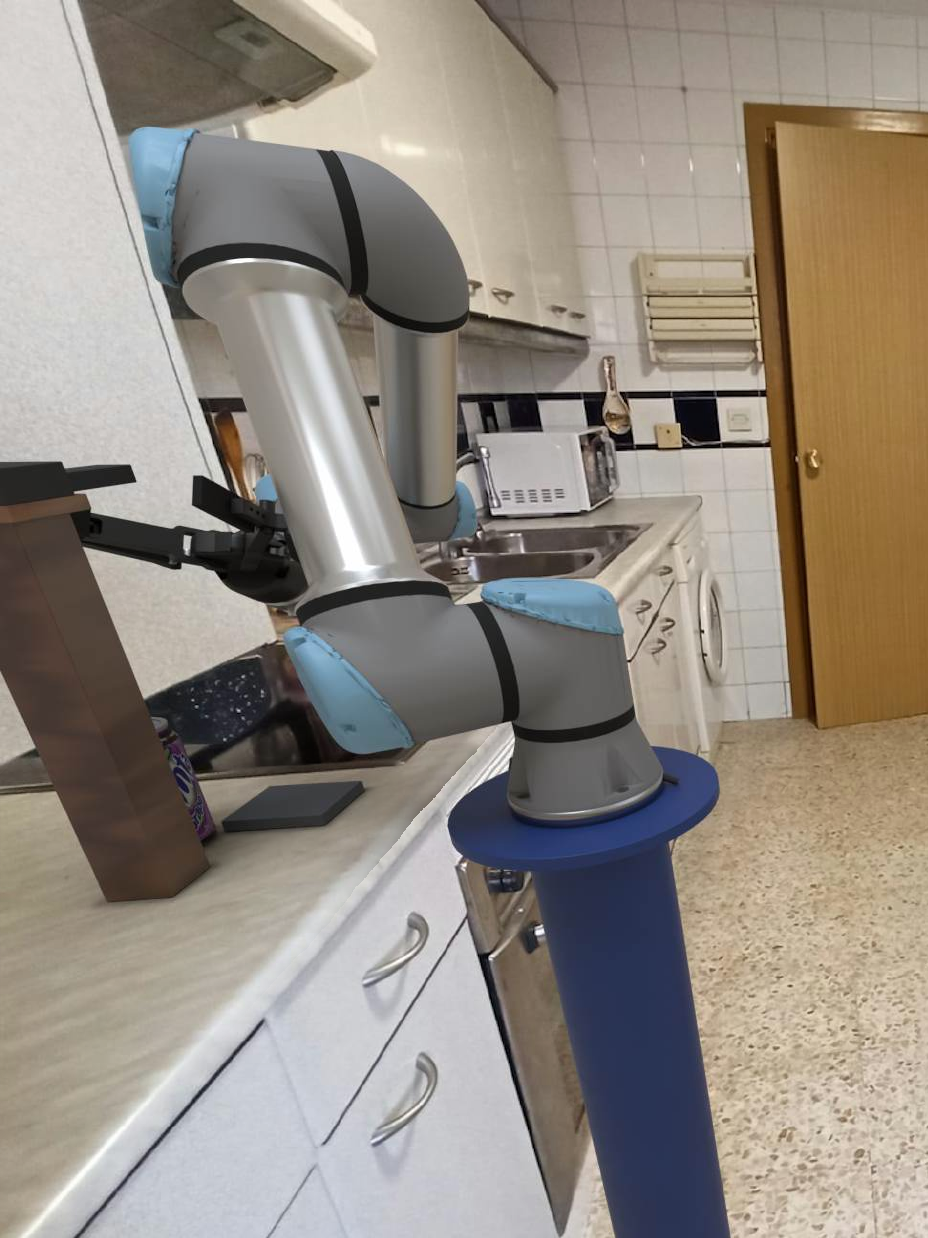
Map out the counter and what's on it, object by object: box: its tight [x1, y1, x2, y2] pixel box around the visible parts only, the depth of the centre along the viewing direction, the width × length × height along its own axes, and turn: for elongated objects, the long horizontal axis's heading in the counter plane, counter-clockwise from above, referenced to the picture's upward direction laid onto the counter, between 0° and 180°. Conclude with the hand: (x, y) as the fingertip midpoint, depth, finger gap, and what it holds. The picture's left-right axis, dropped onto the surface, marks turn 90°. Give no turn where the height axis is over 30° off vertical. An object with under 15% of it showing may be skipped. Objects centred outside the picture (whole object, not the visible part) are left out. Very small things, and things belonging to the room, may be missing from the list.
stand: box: [0, 493, 212, 903], centre depth 69 cm, size 6×7×33 cm
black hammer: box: [0, 460, 138, 506], centre depth 66 cm, size 6×15×2 cm, turn 9°
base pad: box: [220, 780, 365, 833], centre depth 88 cm, size 9×8×1 cm
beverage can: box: [151, 716, 216, 842], centre depth 79 cm, size 7×7×12 cm
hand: (107, 491), depth 72 cm, fingers open, 13 cm apart
